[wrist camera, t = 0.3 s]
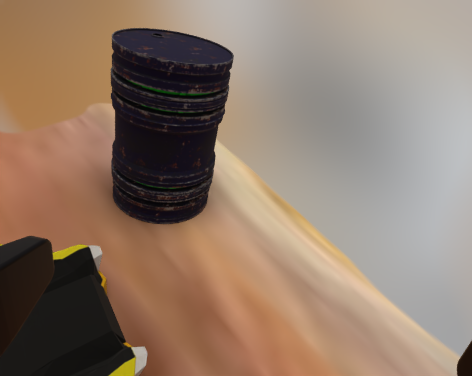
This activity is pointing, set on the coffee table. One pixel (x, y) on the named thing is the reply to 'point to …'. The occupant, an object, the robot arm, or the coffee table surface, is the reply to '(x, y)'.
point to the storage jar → (165, 121)
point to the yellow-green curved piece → (73, 326)
